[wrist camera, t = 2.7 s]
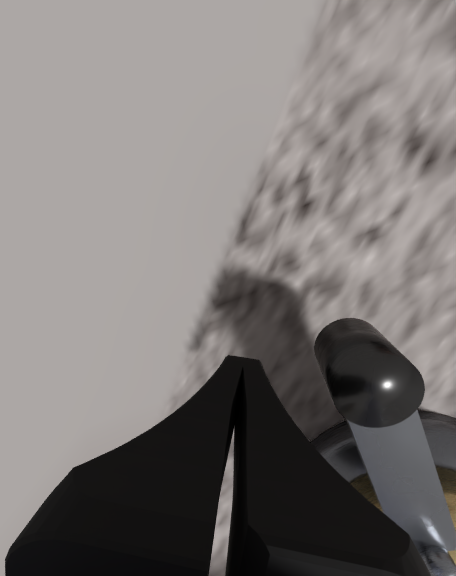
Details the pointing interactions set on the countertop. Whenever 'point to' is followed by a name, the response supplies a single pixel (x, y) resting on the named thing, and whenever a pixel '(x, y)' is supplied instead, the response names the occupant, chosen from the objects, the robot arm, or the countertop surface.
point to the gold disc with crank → (391, 436)
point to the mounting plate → (346, 460)
